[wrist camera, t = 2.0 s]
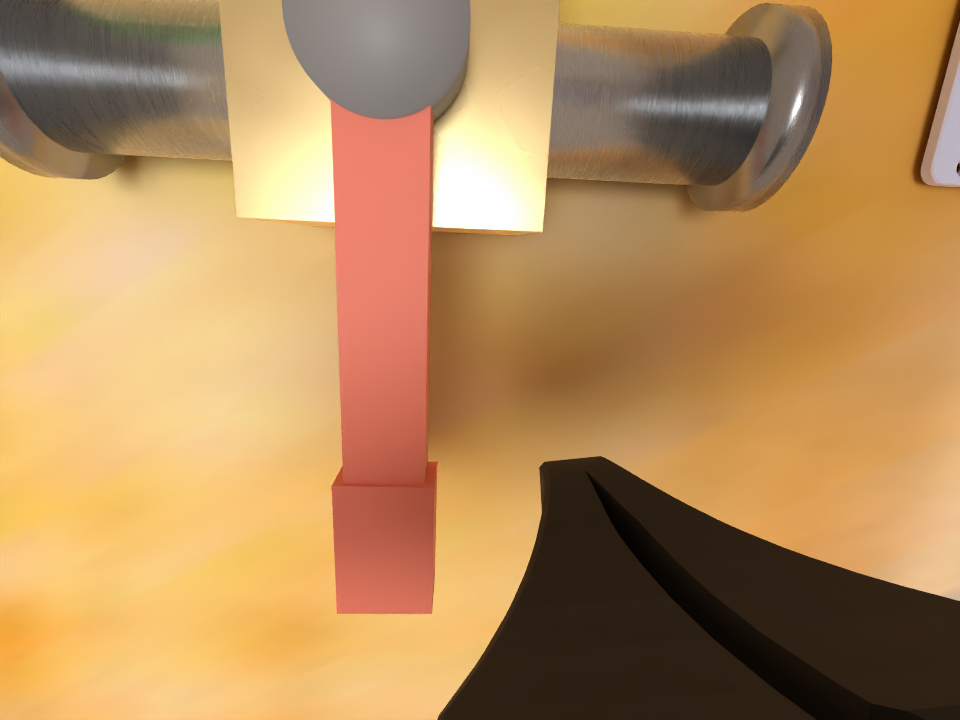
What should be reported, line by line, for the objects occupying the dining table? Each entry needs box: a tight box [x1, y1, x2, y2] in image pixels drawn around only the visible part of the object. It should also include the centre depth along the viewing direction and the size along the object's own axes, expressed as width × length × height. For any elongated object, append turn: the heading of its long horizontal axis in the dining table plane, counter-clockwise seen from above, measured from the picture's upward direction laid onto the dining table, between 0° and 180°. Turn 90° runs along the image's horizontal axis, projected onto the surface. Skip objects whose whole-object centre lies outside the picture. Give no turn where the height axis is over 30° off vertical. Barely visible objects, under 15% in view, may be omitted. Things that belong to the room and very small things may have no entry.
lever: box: [282, 0, 471, 614], centre depth 9 cm, size 12×3×1 cm, turn 177°
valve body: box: [0, 0, 832, 235], centre depth 11 cm, size 17×6×5 cm, turn 87°
